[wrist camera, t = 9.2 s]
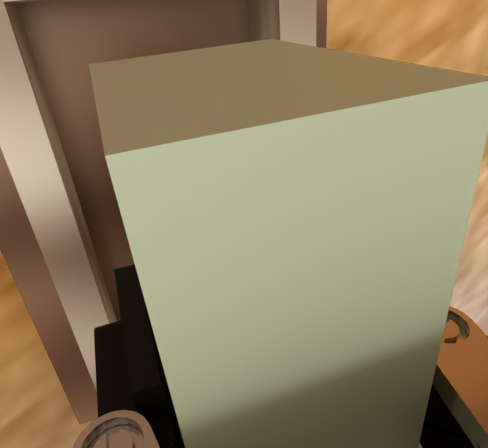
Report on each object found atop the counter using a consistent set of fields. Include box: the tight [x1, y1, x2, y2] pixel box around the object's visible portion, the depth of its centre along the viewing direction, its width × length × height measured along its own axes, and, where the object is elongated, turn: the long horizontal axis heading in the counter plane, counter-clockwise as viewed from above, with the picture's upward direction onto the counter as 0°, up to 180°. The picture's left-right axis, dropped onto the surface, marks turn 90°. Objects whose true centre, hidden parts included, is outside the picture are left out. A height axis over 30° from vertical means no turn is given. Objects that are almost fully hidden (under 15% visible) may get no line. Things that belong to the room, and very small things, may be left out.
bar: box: [89, 39, 488, 448], centre depth 9 cm, size 4×12×6 cm, turn 6°
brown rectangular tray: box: [0, 0, 327, 424], centre depth 15 cm, size 20×13×4 cm, turn 5°
